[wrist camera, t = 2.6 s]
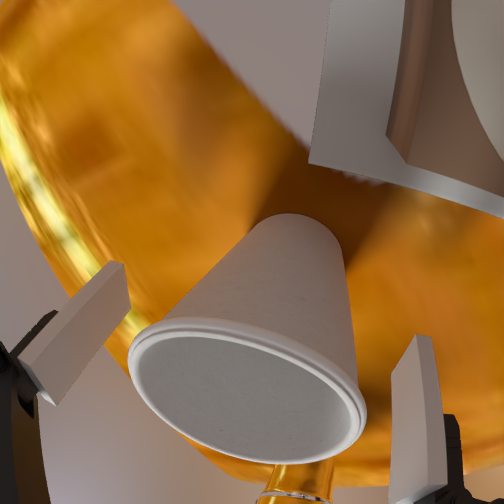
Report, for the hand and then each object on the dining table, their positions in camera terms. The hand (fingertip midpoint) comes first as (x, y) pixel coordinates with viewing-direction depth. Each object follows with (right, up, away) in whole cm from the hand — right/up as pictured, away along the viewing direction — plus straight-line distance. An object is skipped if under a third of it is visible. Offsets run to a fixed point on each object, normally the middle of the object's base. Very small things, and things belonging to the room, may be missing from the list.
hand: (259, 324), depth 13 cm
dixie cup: (+2, +3, +5) cm, 6 cm away
